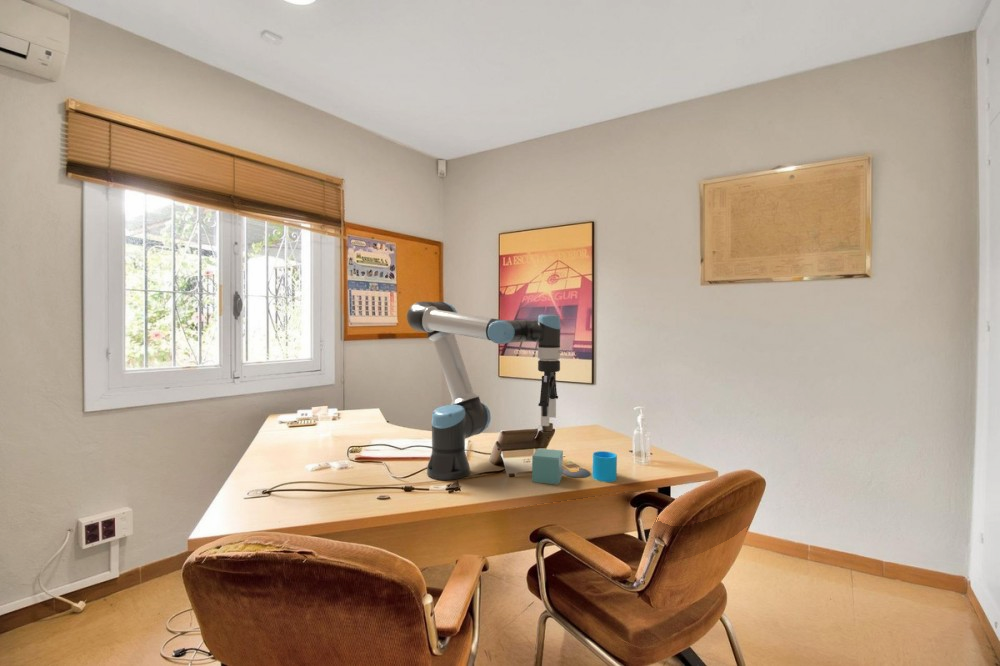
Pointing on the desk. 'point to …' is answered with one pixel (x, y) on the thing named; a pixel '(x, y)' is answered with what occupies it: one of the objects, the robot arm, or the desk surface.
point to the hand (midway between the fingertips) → (548, 421)
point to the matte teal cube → (547, 466)
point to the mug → (604, 466)
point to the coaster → (576, 473)
